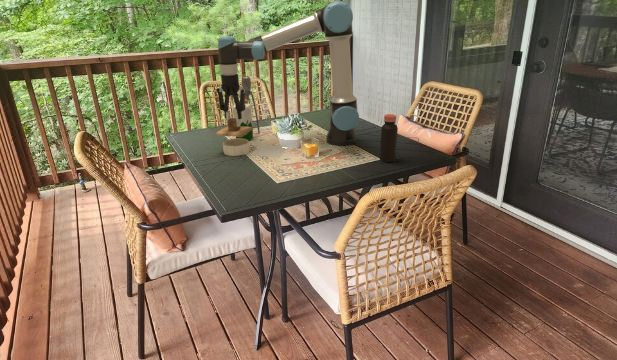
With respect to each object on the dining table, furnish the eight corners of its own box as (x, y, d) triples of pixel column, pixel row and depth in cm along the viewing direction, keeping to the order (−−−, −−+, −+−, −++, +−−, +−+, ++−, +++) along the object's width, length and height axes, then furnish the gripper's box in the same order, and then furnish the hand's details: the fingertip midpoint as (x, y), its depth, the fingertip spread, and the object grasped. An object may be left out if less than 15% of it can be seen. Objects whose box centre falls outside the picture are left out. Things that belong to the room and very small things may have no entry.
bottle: (385, 156, 187) (388, 112, 179) (398, 160, 183) (401, 115, 175) (376, 160, 183) (378, 115, 175) (389, 164, 178) (392, 118, 171)
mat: (289, 147, 201) (289, 146, 201) (279, 158, 188) (279, 157, 188) (260, 145, 205) (260, 144, 205) (248, 155, 192) (248, 154, 191)
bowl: (253, 149, 200) (252, 139, 198) (243, 157, 190) (242, 147, 188) (230, 147, 203) (229, 137, 201) (219, 155, 193) (218, 145, 191)
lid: (252, 129, 197) (252, 116, 194) (241, 137, 185) (240, 124, 183) (227, 127, 200) (226, 115, 198) (215, 135, 188) (213, 122, 186)
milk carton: (234, 142, 211) (230, 103, 203) (238, 137, 219) (235, 99, 211) (251, 142, 210) (248, 103, 202) (255, 137, 218) (252, 99, 210)
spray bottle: (259, 133, 224) (255, 77, 212) (238, 134, 224) (233, 77, 212) (261, 128, 233) (258, 74, 221) (241, 129, 233) (237, 74, 221)
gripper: (250, 73, 183) (254, 124, 193) (215, 72, 188) (220, 122, 197) (244, 75, 177) (248, 129, 186) (207, 74, 181) (213, 126, 190)
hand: (234, 125), depth 191 cm, fingers closed on lid, 4 cm apart
